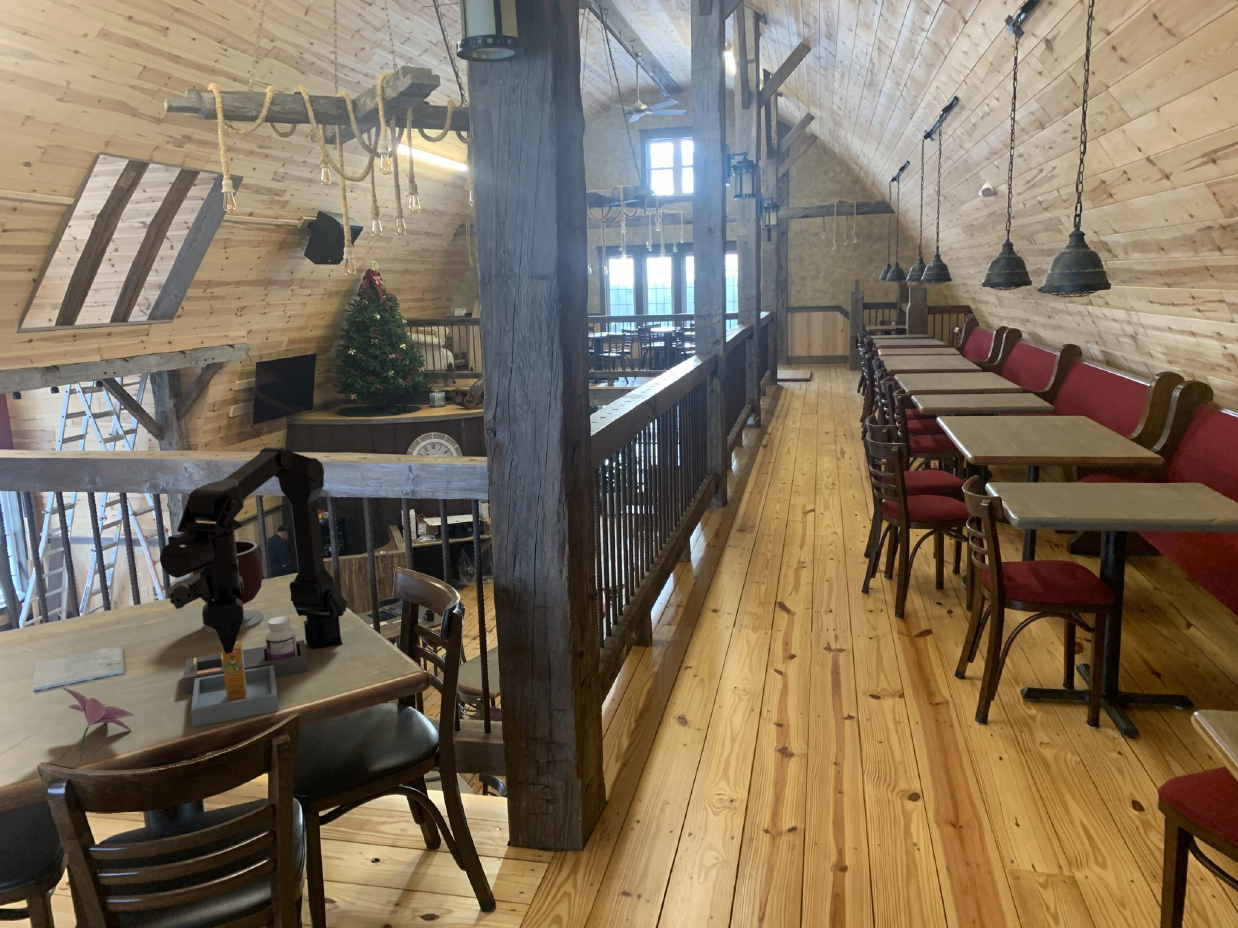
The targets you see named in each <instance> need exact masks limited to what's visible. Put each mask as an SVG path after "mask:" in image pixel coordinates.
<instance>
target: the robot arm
mask: <svg viewBox="0 0 1238 928" xmlns="http://www.w3.org/2000/svg"><path fill="white" fill-rule="evenodd" d="M273 477H275V478H277V479H278V483H279V487H280V491H281V493H283V494H284V496H285V497H286V499H287V500H288V502H289V503H290V508H291V516H292V517H291V518H292V524H293V533H294V543H295V549H296V550H295V551H296V560H297V566H298V567H297V568H298V572H297V574H296V576H295V578H294V580H293V581H290V583H289V585H288V586H289V591H290V602H292V604H293V605H292V606H293V607H294V609H295V611H296V613H297V616H299V617H301V616H302V617H305V618H306V620H304V621H303V627H304V628H303V629H304V638H305V639H304V640H305V643H306V644H307V645H308V647H309V648H308V649H310V650H314V649H318V648H319V649H320V648H323V647H332V646H337V645H341V644H343V639H342V635H341V625H340V617H343V616H344V613H345V612H346V611H347V602H348V601H347V600H346V599H345V598H344V597H343V596H342V595H340V593H339V592H337V587H336V584H335V579H334V578H333V576H332V574H330V573H329V571H328V570H327V569H326V567H325V561H324V552H323V551H324V550H323V544H322V534H321V533H322V532H321V527H320V526H321V524H320V517H319V516H320V513H319V507H318V499H319V496H320V494H321V493H322V490H323V489H324V486H325V481H324V479H325V478H324V477H325V468H324V466H323V462H321V461H320V460H319V459H318V458H315V457H309V456H305V455H303V454H302V455H301V454H299V453H297V452H293V451H292V450H290V449H288V448H286V447H273V446H271V447H270V446H269V447H268V446H267V447H264V448H262V449H261V450H260V451H259V453H258V454H257V455H255V456H254V457H253V458H251V459H250V460H249V461H247V462H246V463H244V464H243V465H242V466H241V467H239V468H238V469H237V470H235V471H234V472H232V473H231V474H229V475H228V476H227V477H225V478H223V479H220V480H218V481H213V482H210V483H205V484H203V485H201V486H199V487H197V488H195V489H193V490H192V491H191V492H190V494H189V495H188V500H187V502H186V505H185V508H184V511H183V513H182V516H181V519H180V522H179V523H178V526H177V530H176V531H177V533H179V534H173V535H170V536H168V537H167V541H168V544H167V545H165V546H164V547H163V548H162V549H161V552H160V556H159V562H160V565H161V567H162V569H163V571H164V572H165V573H166V574H168V575H169V576H171V577H173V578H182V577H184V576H187V575H189V574H191V573H192V575H191V576H189V577H187V578H185V579H182V580H180V581H178V582H175V583H174V584H172V585H171V586H169V587H168V589H167V593H166V594H167V596H168V598H169V603H170V604H173V606H174V608H175V609H176V610H178V609H179V610H180V609H181V608H182V609H183V608H184V607H185V605H188V604H190V603H191V602H194V601H196V600H198V599H201V598H200V597H202V598H203V600H207V601H208V602H207V603H206V602H205V604H204V606H202V612H201V613H202V615H201V616H202V623H203V625H204V624H205V625H206V626H208V627H212V628H214V629H215V630H216V632H217V633H216V634H217V636H218V639H219V641H220V644H221V648H222V647H223V649H224V652H225V653H226V654H229V653H232V652H233V648H234V645H235V642H237V639H238V636H239V632H240V631H239V630H240V627H241V624H242V621H243V618H244V612H243V610H244V604H243V602H242V598H243V579H242V577H241V576H240V575H239V569H238V559H237V552H236V543H235V541H236V535H235V531H236V530H238V529H241V528H242V527H243V523H241V522H240V521H239V520H237V519H235V518H236V517H237V516H238V515H239V513H241V511H243V509H244V506H245V500H246V499H247V498H248V497H249V496H250V495H252V494H253V493H254V492H255V491H257V490H258V489H260V488H261V487H262V486H263V485H264V484H266V483H267V482H268V481H269V480H271V478H273ZM199 569H201V571H200V573H198V574H196V575H193V572H194V571H196V570H199ZM203 600H202V601H203Z"/></svg>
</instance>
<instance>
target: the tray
mask: <svg viewBox="0 0 1238 928" xmlns="http://www.w3.org/2000/svg"><path fill="white" fill-rule="evenodd" d="M245 678H246V686H247V694H246V698H245V699H239V700H233V701H228V700H227V694H226V685H225V675H224V674H219V675H213V676H207V677H202V678H196V679H195V681H194V690H193V692H192V700H191V708H190V709H191V710H190V712H191V720H192V728H193V727H200V726H205V725H209V724H210V725H211V724H216V723H222V722H226V721H232V720H236V719H242V718H246V717H247V718H248V717H252V716H253V717H254V716H258V715H264V714H268V713H269V714H270V713H274V712H279V704H278V703H279V702H278V690H277V681H276V679H277V678H276V677H275V669H274V665H271V666H266V667H260V668H254V669H248V670H245Z"/></svg>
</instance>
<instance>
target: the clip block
mask: <svg viewBox="0 0 1238 928" xmlns="http://www.w3.org/2000/svg"><path fill="white" fill-rule="evenodd" d="M305 643H306V642H305V639H302V640H296V647H297V656H296V657H290V658H284V659H278V660H272V661H268V653H267V645H266V646H259V647H252V648H247V649H242V650H243V660H244V669H245V670H248V669H254V668H260V667H266V666H271V665H274V669H275V678H279V677H286V676H291V675H296V674H302V673H308V672H309V664H308V663H309V662H308V656H307V649H306V644H305ZM219 674H224V665H223V656H222V653H216V654H210V655H209V654H208V655H205V656H199V657H191V658H186V659H185V664H184V669H183V677H182V678H183V686H184V694H190V693H193V690H194V681H195V679H196V678H202V677H207V676H213V675H219Z"/></svg>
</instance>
